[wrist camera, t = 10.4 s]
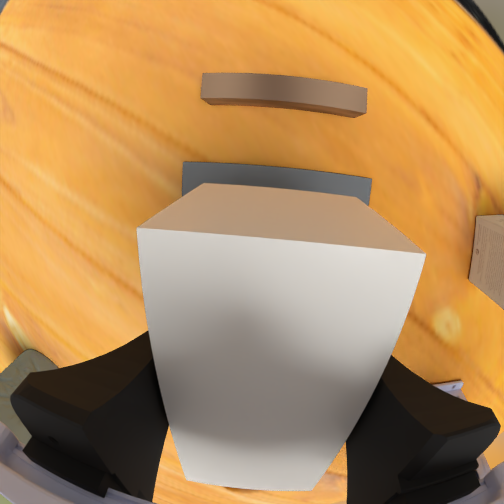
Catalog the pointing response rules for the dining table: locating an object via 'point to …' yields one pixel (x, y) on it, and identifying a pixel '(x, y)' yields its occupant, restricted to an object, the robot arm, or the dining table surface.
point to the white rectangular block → (270, 326)
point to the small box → (489, 257)
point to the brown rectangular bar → (284, 93)
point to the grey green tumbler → (10, 379)
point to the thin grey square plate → (274, 178)
